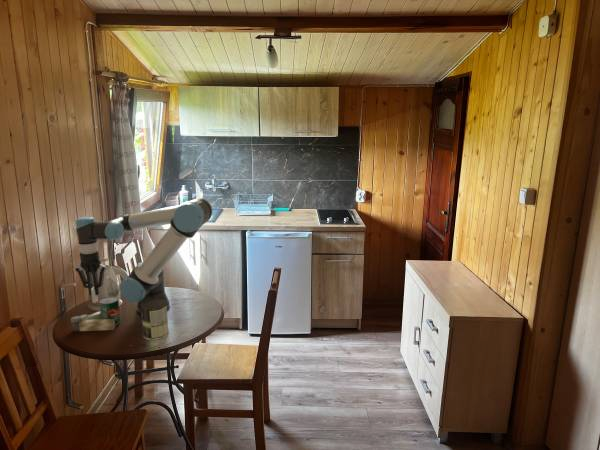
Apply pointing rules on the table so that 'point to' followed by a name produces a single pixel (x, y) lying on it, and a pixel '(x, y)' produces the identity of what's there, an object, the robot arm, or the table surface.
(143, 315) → the coffee can
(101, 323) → the tongs fixed arm
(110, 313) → the canned tomato
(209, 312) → the table surface
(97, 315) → the tongs jaw
